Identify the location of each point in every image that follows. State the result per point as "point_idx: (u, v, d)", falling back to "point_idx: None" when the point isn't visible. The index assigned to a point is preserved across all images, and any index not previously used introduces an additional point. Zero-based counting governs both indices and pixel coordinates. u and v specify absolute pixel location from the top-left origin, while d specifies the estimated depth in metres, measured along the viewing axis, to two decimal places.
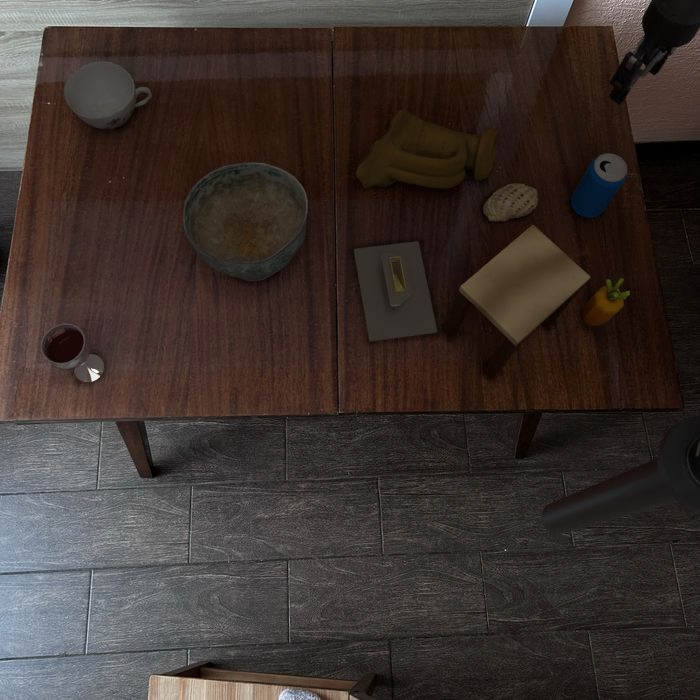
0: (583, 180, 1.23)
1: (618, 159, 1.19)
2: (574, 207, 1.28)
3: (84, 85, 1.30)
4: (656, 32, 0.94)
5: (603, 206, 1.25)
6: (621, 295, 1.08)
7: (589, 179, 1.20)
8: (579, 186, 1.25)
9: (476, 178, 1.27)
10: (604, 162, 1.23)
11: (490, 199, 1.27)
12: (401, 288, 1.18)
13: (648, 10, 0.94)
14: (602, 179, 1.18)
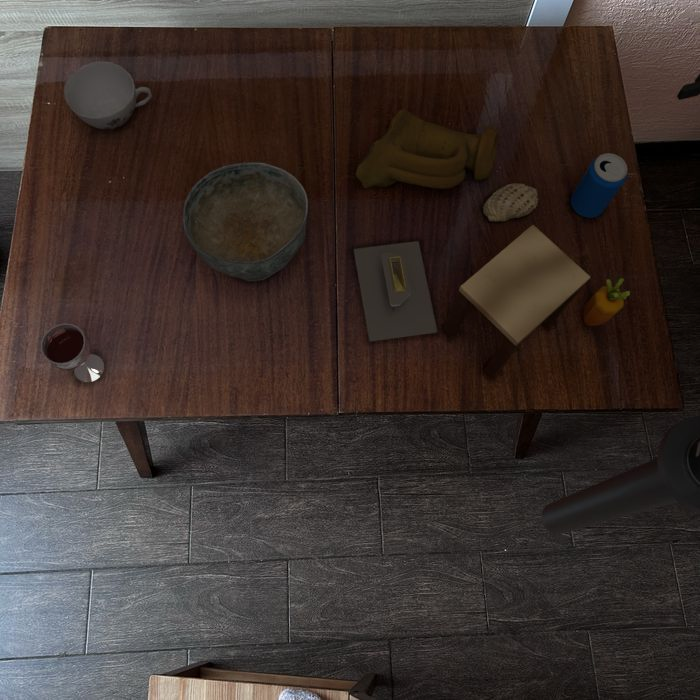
0: (583, 180, 1.23)
1: (618, 159, 1.19)
2: (574, 207, 1.28)
3: (84, 85, 1.30)
4: None
5: (603, 206, 1.25)
6: (621, 296, 1.08)
7: (589, 179, 1.20)
8: (579, 186, 1.25)
9: (476, 178, 1.27)
10: (604, 162, 1.23)
11: (490, 199, 1.27)
12: (401, 288, 1.18)
13: None
14: (602, 179, 1.18)
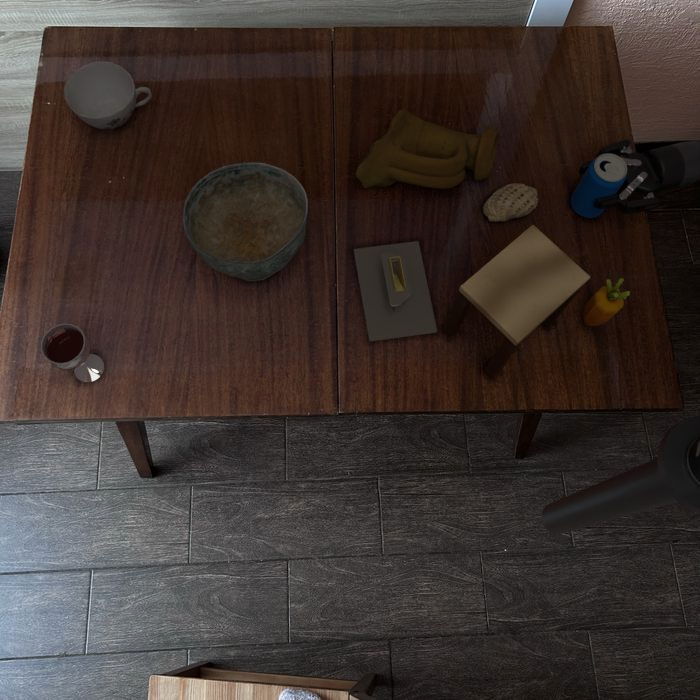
0: (583, 180, 1.23)
1: (618, 159, 1.19)
2: (574, 207, 1.28)
3: (84, 85, 1.30)
4: None
5: None
6: (621, 296, 1.08)
7: (589, 179, 1.20)
8: (579, 186, 1.25)
9: (476, 178, 1.27)
10: (604, 162, 1.23)
11: (490, 199, 1.27)
12: (401, 288, 1.18)
13: None
14: (602, 179, 1.18)
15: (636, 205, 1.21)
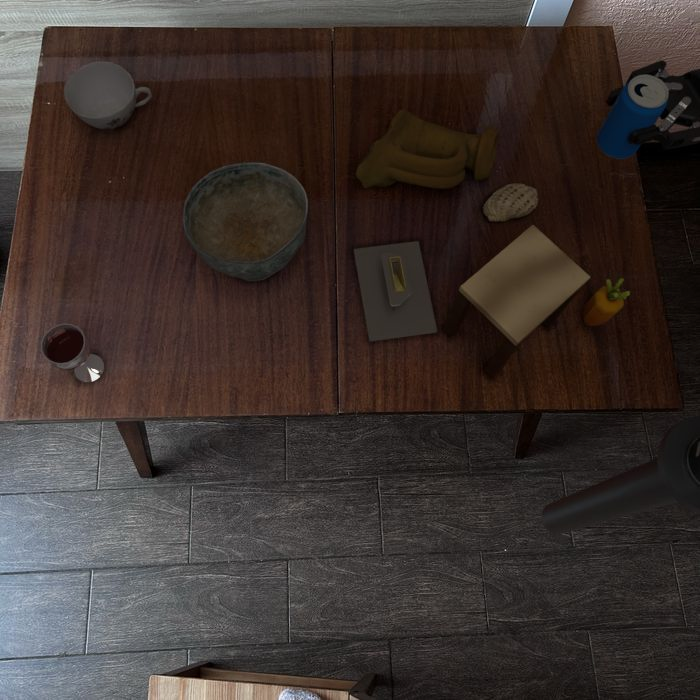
0: (613, 111, 1.01)
1: (656, 81, 0.97)
2: (602, 147, 1.06)
3: (84, 85, 1.30)
4: None
5: None
6: (621, 295, 1.08)
7: (622, 107, 0.98)
8: (608, 120, 1.03)
9: (476, 178, 1.27)
10: (637, 88, 1.01)
11: (490, 199, 1.27)
12: (401, 288, 1.18)
13: None
14: (639, 105, 0.96)
15: (680, 137, 0.99)
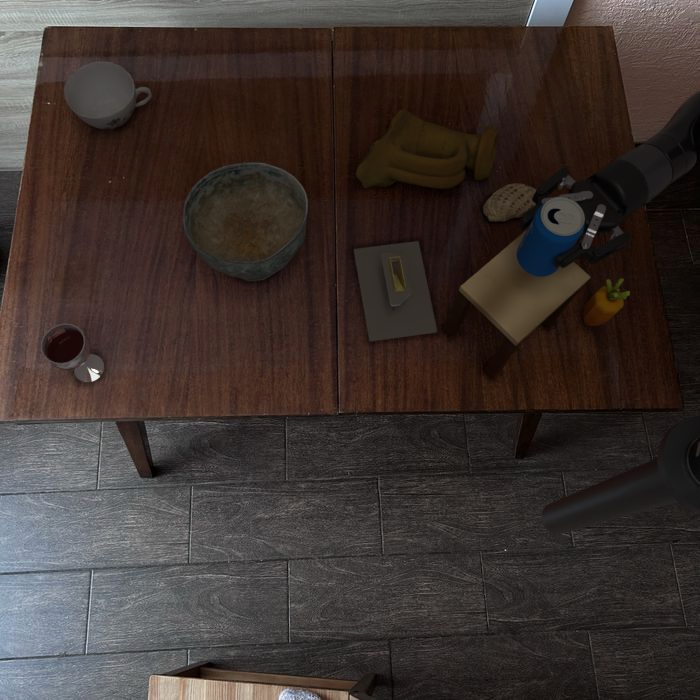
0: (530, 238, 0.93)
1: (567, 202, 0.90)
2: (526, 269, 0.98)
3: (84, 85, 1.30)
4: None
5: None
6: (621, 296, 1.08)
7: (540, 237, 0.90)
8: (526, 245, 0.95)
9: (476, 178, 1.27)
10: None
11: (490, 199, 1.27)
12: (401, 288, 1.18)
13: None
14: (558, 235, 0.89)
15: (606, 251, 0.92)
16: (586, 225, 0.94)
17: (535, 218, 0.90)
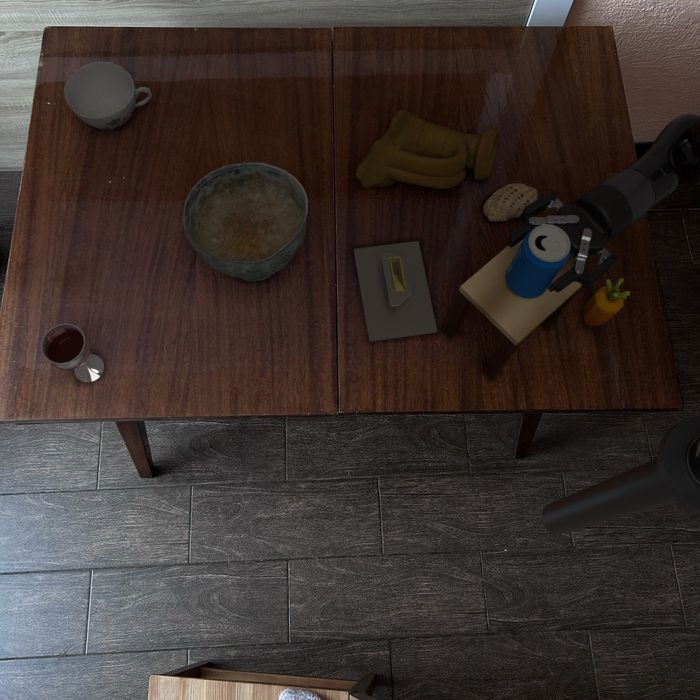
0: (518, 263, 0.97)
1: (553, 229, 0.94)
2: (515, 291, 1.02)
3: (84, 85, 1.30)
4: None
5: (550, 283, 0.99)
6: (621, 296, 1.08)
7: (528, 263, 0.94)
8: (515, 269, 0.99)
9: (476, 178, 1.27)
10: None
11: (490, 199, 1.27)
12: (401, 288, 1.18)
13: None
14: (545, 261, 0.92)
15: (599, 274, 0.95)
16: (573, 248, 0.97)
17: (523, 245, 0.94)
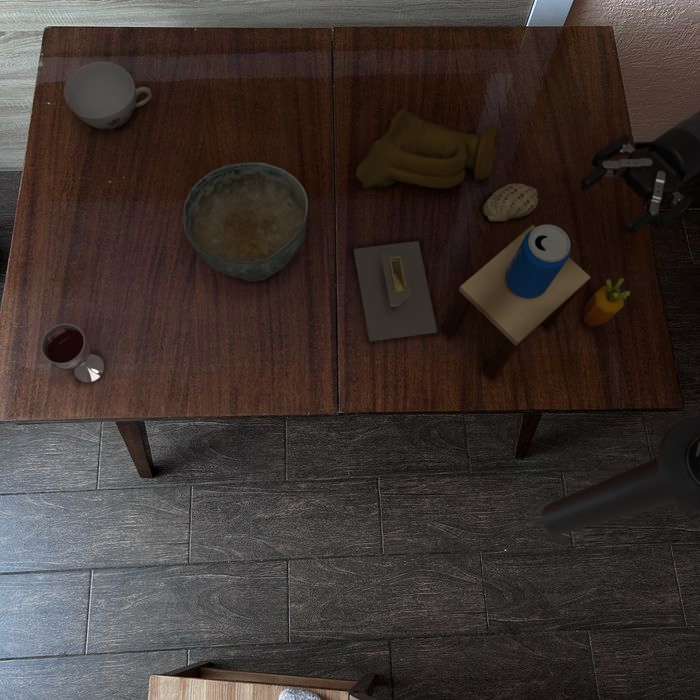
0: (518, 263, 0.97)
1: (553, 229, 0.94)
2: (515, 291, 1.02)
3: (84, 85, 1.30)
4: None
5: (550, 283, 0.99)
6: (621, 296, 1.08)
7: (528, 263, 0.94)
8: (515, 269, 0.99)
9: (476, 178, 1.27)
10: None
11: (490, 199, 1.27)
12: (401, 288, 1.18)
13: None
14: (545, 261, 0.92)
15: (673, 215, 0.96)
16: (647, 191, 0.98)
17: (523, 245, 0.94)
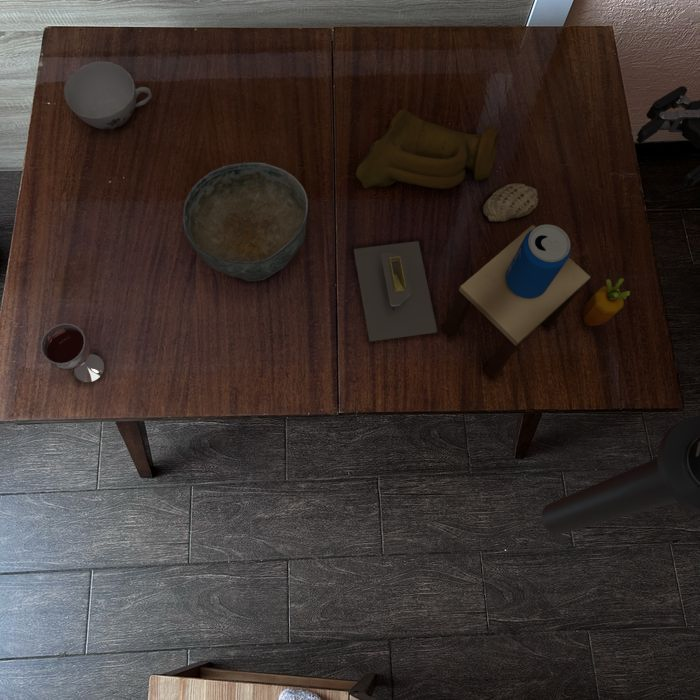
0: (518, 263, 0.97)
1: (553, 229, 0.94)
2: (515, 291, 1.02)
3: (84, 85, 1.30)
4: None
5: (550, 283, 0.99)
6: (621, 295, 1.08)
7: (528, 263, 0.94)
8: (515, 269, 0.99)
9: (476, 178, 1.27)
10: None
11: (490, 199, 1.27)
12: (401, 288, 1.18)
13: None
14: (545, 261, 0.92)
15: None
16: None
17: (523, 245, 0.94)
